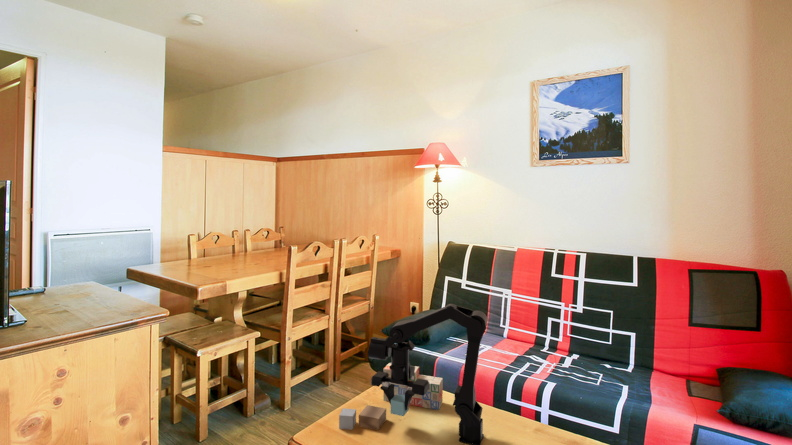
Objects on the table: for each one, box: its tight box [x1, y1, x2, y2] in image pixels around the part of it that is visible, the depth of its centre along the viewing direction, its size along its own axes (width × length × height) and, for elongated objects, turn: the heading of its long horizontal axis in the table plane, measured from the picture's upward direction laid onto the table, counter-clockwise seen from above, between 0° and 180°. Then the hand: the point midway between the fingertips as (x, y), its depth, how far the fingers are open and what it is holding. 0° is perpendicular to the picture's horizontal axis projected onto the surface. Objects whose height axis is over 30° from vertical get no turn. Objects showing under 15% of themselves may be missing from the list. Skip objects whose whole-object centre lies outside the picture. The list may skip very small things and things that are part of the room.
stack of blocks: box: [382, 362, 444, 411], centre depth 147 cm, size 21×6×12 cm, turn 71°
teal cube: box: [390, 394, 410, 417], centre depth 130 cm, size 4×4×4 cm
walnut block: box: [358, 404, 387, 431], centre depth 132 cm, size 7×7×4 cm
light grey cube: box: [338, 408, 357, 431], centre depth 130 cm, size 4×4×4 cm
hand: (399, 408), depth 130 cm, fingers closed on teal cube, 4 cm apart
